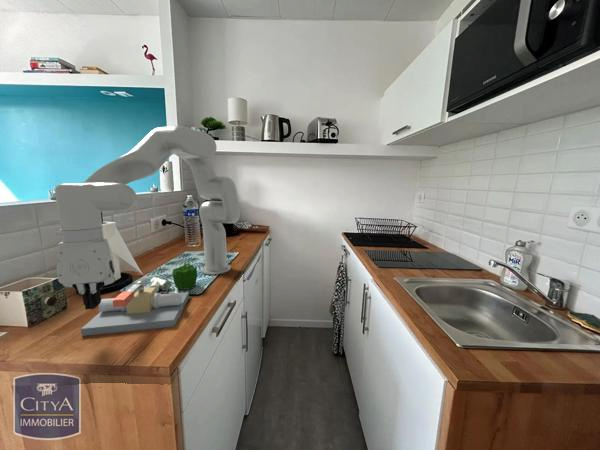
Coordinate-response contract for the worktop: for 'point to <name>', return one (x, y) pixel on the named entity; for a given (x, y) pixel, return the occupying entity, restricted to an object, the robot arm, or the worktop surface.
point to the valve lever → (129, 293)
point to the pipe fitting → (160, 284)
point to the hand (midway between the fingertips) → (93, 306)
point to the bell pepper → (185, 276)
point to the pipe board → (138, 313)
